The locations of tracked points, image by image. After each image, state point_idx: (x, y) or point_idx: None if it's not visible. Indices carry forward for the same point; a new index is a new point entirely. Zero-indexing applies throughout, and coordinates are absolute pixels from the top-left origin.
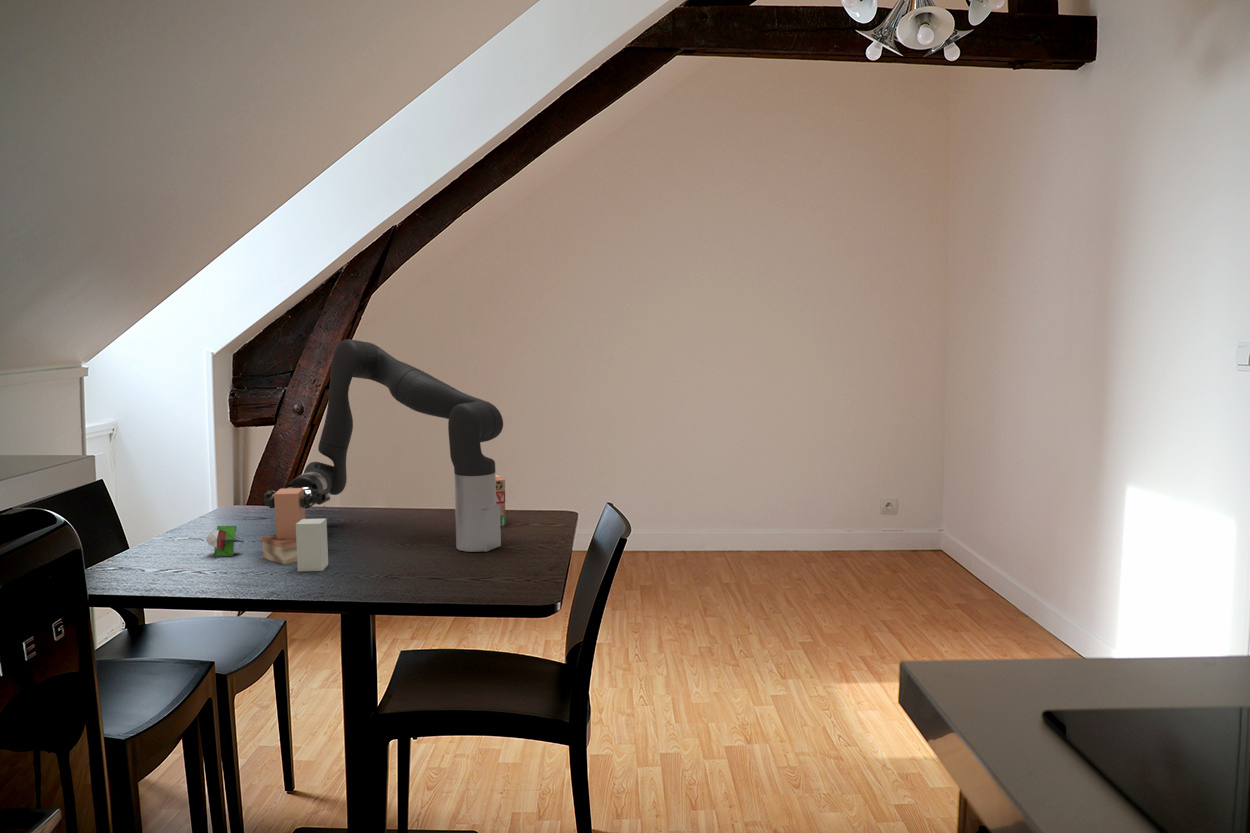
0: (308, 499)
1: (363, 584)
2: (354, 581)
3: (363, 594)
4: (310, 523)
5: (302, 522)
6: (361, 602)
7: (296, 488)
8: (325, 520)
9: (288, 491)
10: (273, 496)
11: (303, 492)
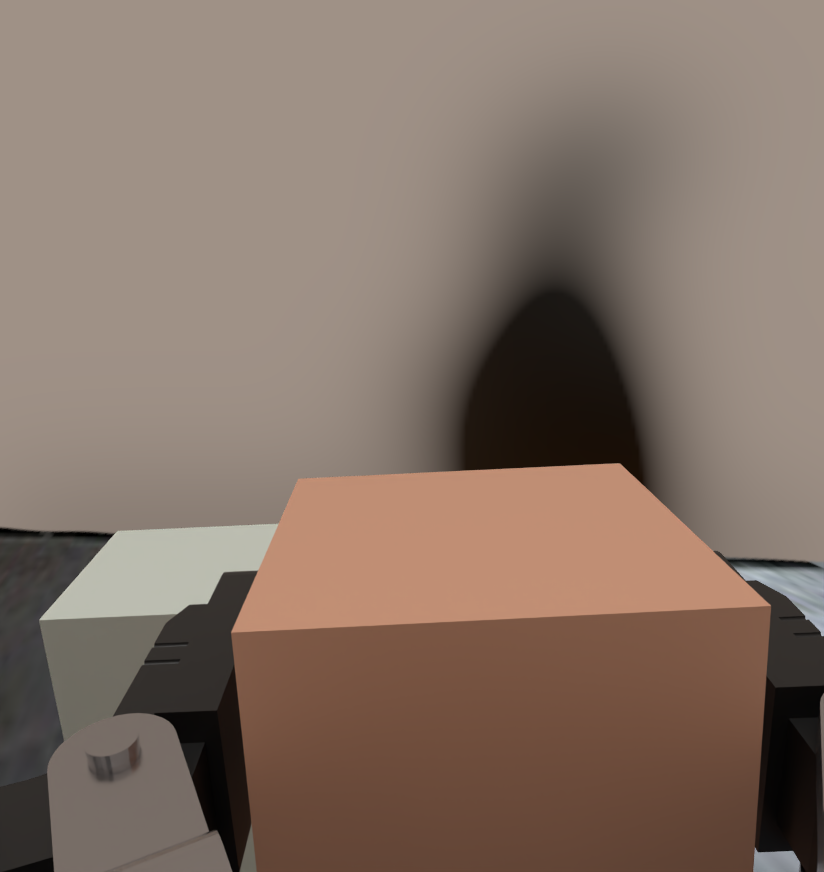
0: (168, 631)
1: (9, 638)
2: (33, 666)
3: (45, 572)
4: (186, 531)
5: (245, 545)
6: (71, 535)
7: (391, 612)
8: (56, 610)
9: (471, 515)
10: (777, 630)
11: (247, 702)
